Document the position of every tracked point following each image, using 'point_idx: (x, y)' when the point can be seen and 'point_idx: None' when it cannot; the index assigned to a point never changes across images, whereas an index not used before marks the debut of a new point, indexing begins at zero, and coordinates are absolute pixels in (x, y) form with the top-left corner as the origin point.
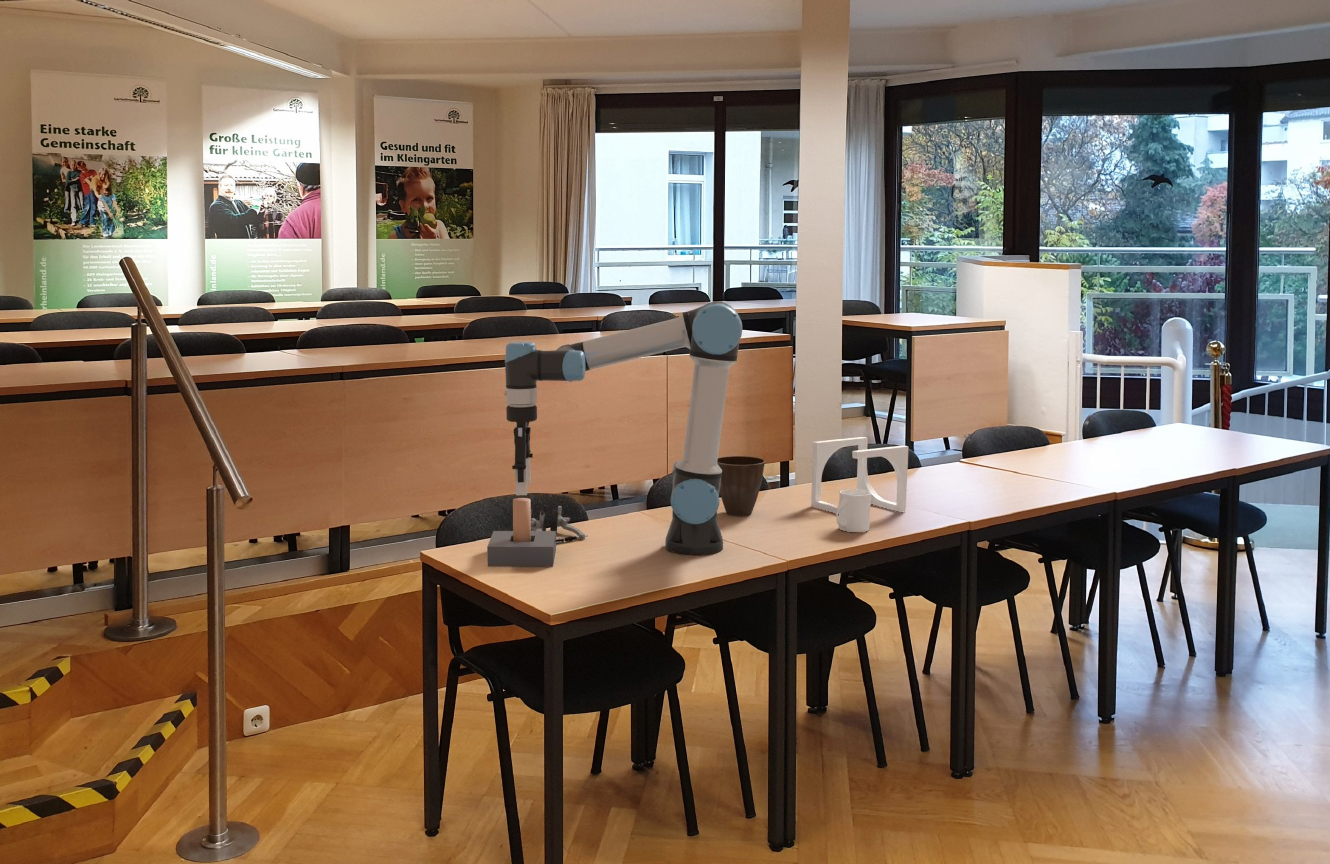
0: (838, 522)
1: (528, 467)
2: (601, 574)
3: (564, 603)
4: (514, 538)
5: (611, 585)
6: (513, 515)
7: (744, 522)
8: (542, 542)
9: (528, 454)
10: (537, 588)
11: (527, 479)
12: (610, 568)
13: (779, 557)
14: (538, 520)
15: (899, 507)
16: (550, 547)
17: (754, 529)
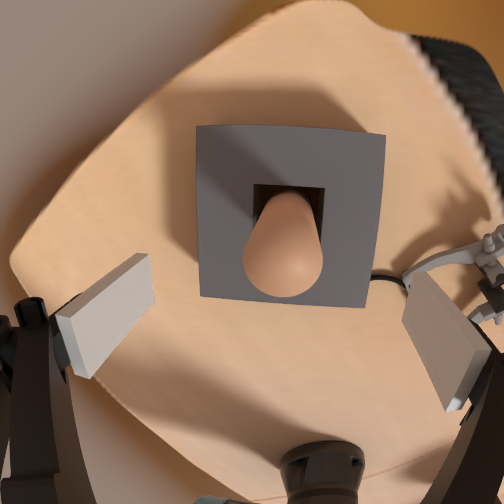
0: None
1: (431, 365)
2: (167, 350)
3: (35, 279)
4: (273, 198)
5: (114, 351)
6: (272, 209)
7: (424, 485)
8: (242, 273)
9: (461, 426)
10: (79, 243)
11: (412, 319)
12: (205, 368)
13: (264, 500)
14: (494, 262)
15: None
16: (200, 289)
17: (391, 493)
